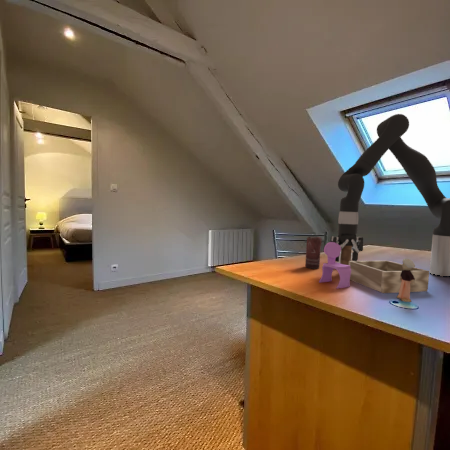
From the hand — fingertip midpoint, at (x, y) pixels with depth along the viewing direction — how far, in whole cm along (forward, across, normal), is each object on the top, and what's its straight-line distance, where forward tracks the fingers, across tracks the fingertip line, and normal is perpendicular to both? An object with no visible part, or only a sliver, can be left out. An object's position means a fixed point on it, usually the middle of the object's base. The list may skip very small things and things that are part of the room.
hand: (345, 261), depth 119 cm
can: (+5, +8, -12) cm, 15 cm away
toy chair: (+6, +15, +15) cm, 22 cm away
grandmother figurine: (+5, +3, +33) cm, 34 cm away
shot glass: (+5, -8, -12) cm, 15 cm away
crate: (+5, -4, +17) cm, 18 cm away
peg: (+5, 0, 0) cm, 5 cm away
